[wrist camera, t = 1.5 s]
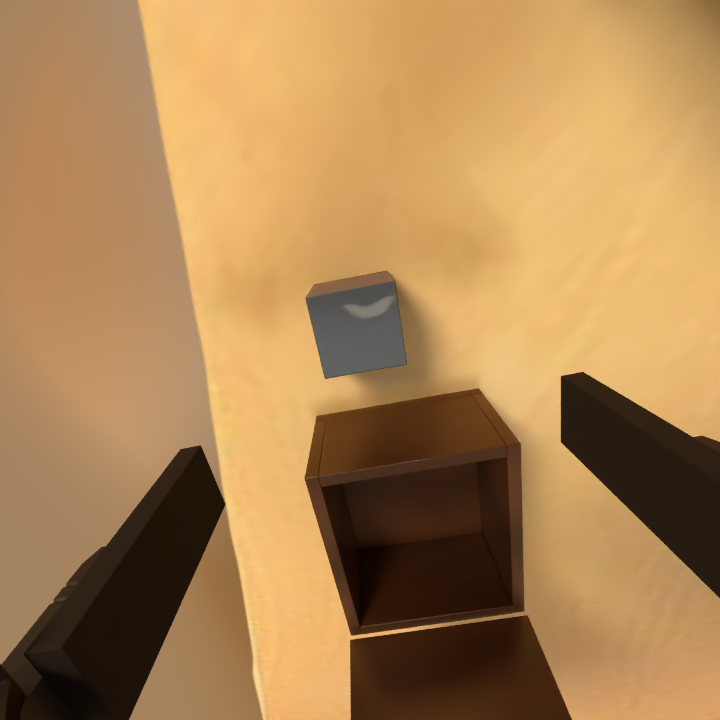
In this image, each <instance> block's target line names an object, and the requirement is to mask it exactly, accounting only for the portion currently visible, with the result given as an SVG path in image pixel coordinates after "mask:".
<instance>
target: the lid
mask: <svg viewBox="0 0 720 720" xmlns="http://www.w3.org/2000/svg"><path fill="white" fill-rule="evenodd" d="M350 669H351V720H572V719H571V716H570V714H569V712H568V709H567V707H566V705H565V702H564V700H563V698H562V695H561V693H560V691H559V688H558V686H557V683H556V681H555V679H554V676H553V674H552V672H551V669H550V667H549V665H548V662H547V660H546V658H545V655H544V653H543V650H542V648H541V646H540V643H539V641H538V639H537V636H536V634H535V632H534V629H533V627H532V625H531V622H530V620H529V617H528V616H519V617H512V618H505V619H498V620H491V621H483V622H476V623H469V624H462V625H455V626H447V627H440V628H433V629H426V630H419V631H411V632H404V633H397V634H390V635H383V636H375V637H368V638H361V639H354V640H350Z"/></svg>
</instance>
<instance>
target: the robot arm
mask: <svg viewBox="0 0 720 720" xmlns="http://www.w3.org/2000/svg"><path fill="white" fill-rule="evenodd" d="M561 443H562V444H563V445H564V446H565V447H566V448H567V449H569V450H570V451H571V452H572V453H573V454H574V455H575V456H576V457H577V458H578V459H579V460H580V461H581V462H582V463H583V464H584V465H585V466H586V467H587V468H588V469H589V470H590V471H591V472H592V473H593V474H594V475H595V476H596V477H597V478H598V479H599V480H600V481H601V482H602V483H603V484H604V485H605V486H606V487H607V488H608V489H609V490H610V491H611V492H612V493H613V494H614V495H615V496H616V497H617V498H618V499H619V500H620V501H621V502H622V503H624V504H625V505H626V506H627V507H628V508H629V509H630V510H631V511H632V512H633V513H634V514H635V515H636V516H637V517H638V518H639V519H640V520H641V521H642V522H643V523H644V524H645V525H646V526H647V527H648V528H649V529H650V530H651V531H652V532H653V533H654V534H655V535H656V536H657V537H658V538H659V539H660V540H661V541H662V542H663V543H664V544H665V545H666V546H667V547H668V548H669V549H670V550H671V551H672V552H673V553H674V554H675V555H676V556H677V557H678V558H680V559H681V560H682V561H683V562H684V563H685V564H686V565H687V566H688V567H689V568H690V569H691V570H692V571H693V572H694V573H695V574H696V575H697V576H698V577H699V578H700V579H701V580H702V581H703V582H704V583H705V584H706V585H707V586H708V587H709V588H710V589H711V590H712V591H713V592H714V593H715V594H716V595H717V596H718V597H719V598H720V442H718V441H715V440H713V439H710V438H707V437H704V436H697V437H692V436H690V435H688V434H687V433H685V432H683V431H682V430H680V429H678V428H677V427H675V426H673V425H671V424H670V423H668V422H666V421H665V420H663V419H661V418H660V417H658V416H656V415H655V414H653V413H651V412H650V411H648V410H646V409H644V408H643V407H641V406H639V405H638V404H636V403H634V402H633V401H631V400H629V399H628V398H626V397H624V396H623V395H621V394H619V393H617V392H616V391H614V390H612V389H611V388H609V387H607V386H606V385H604V384H602V383H601V382H599V381H597V380H596V379H594V378H592V377H591V376H589V375H587V374H585V373H584V372H580V373H575V374H570V375H564V376H561ZM224 506H225V502H224V500H223V497H222V495H221V493H220V490H219V488H218V485H217V483H216V481H215V478H214V476H213V473H212V471H211V469H210V466H209V464H208V462H207V459H206V457H205V454H204V452H203V449H202V447H201V446H195V447H190V448H185V449H181V450H180V451H179V452H178V453H177V455H176V456H175V457H174V459H173V460H172V461H171V463H170V464H169V465H168V466H167V468H166V469H165V470H164V472H163V473H162V474H161V476H160V477H159V478H158V479H157V481H156V482H155V483H154V485H153V486H152V487H151V489H150V490H149V491H148V492H147V494H146V495H145V496H144V498H143V499H142V500H141V502H140V503H139V504H138V505H137V507H136V508H135V509H134V511H133V512H132V513H131V515H130V516H129V517H128V518H127V520H126V521H125V522H124V524H123V525H122V526H121V528H120V529H119V530H118V532H117V533H116V534H115V535H114V537H113V538H112V539H111V541H110V542H109V543H108V544H107V546H105V547H101V548H100V549H99V550H98V551H97V552H95V553H94V554H93V555H92V556H91V557H90V558H89V559H87V560H86V561H85V562H84V563H83V564H82V565H81V566H80V567H79V569H78V570H77V571H76V572H75V573H74V575H73V576H72V577H71V578H70V580H69V581H68V582H67V586H66V587H64V588H63V589H62V590H61V591H60V592H59V594H58V595H57V596H56V597H55V599H54V602H53V604H50V605H49V606H48V607H47V609H46V610H45V611H44V612H43V613H42V615H41V616H40V617H39V618H38V620H37V621H36V622H35V623H34V625H33V626H32V627H31V628H30V630H29V631H28V632H27V634H26V635H25V636H24V637H23V638H22V640H21V641H20V642H19V643H18V645H17V646H16V648H14V650H13V651H12V652H11V653H10V655H9V656H8V657H7V658H6V660H5V661H4V662H3V664H2V665H1V664H0V720H129V718H130V716H131V714H132V712H133V709H134V707H135V705H136V703H137V700H138V698H139V696H140V694H141V691H142V689H143V687H144V685H145V683H146V680H147V678H148V676H149V673H150V671H151V669H152V667H153V665H154V662H155V660H156V658H157V656H158V653H159V651H160V649H161V647H162V645H163V642H164V640H165V638H166V636H167V634H168V631H169V629H170V627H171V625H172V622H173V620H174V618H175V616H176V613H177V611H178V609H179V607H180V605H181V602H182V600H183V598H184V595H185V593H186V591H187V589H188V586H189V584H190V582H191V580H192V577H193V576H194V573H195V571H196V569H197V566H198V564H199V562H200V560H201V558H202V555H203V553H204V551H205V549H206V547H207V544H208V542H209V540H210V538H211V535H212V533H213V531H214V529H215V526H216V524H217V522H218V520H219V518H220V515H221V513H222V511H223V509H224Z"/></svg>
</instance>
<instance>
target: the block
mask: <svg viewBox="0 0 720 720" xmlns="http://www.w3.org/2000/svg"><path fill="white" fill-rule="evenodd" d="M306 302H307V307H308V311H309V315H310V319H311V323H312V327H313V332H314V336H315V340H316V344H317V348H318V352H319V356H320V361H321V365H322V369H323V373H324V377H325V379H327V378H333V377H338V376H344V375H350V374H355V373H361V372H367V371H372V370H378V369H384V368H389V367H395V366H401V365H406V364H407V360H406V353H405V346H404V339H403V333H402V326H401V319H400V312H399V305H398V298H397V291H396V285H395V281H394V279H393V278H392V277H391V275H390V274H389V273H388V271H383V272H378V273H373V274H368V275H362V276H357V277H352V278H347V279H341V280H336V281H331V282H325V283H320V284H315V285H314V286H313V287H312V289H311V290H310V292H309V293H308V295H307V296H306Z"/></svg>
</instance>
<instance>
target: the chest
mask: <svg viewBox="0 0 720 720" xmlns="http://www.w3.org/2000/svg"><path fill="white" fill-rule="evenodd" d="M305 481H306V485H307V488H308V491H309V495H310V498H311V502H312V505H313V508H314V512H315V515H316V518H317V522H318V525H319V528H320V532H321V535H322V539H323V542H324V545H325V549H326V552H327V555H328V559H329V562H330V566H331V569H332V572H333V576H334V579H335V582H336V586H337V589H338V592H339V596H340V599H341V603H342V606H343V609H344V613H345V616H346V619H347V623H348V626H349V630H350V633H351V635H360V634H368V633H375V632H382V631H389V630H396V629H404V628H411V627H418V626H425V625H432V624H439V623H446V622H454V621H461V620H468V619H475V618H482V617H489V616H497V615H504V614H511V613H517V612H524V573H523V528H522V483H521V443H520V442H519V441H518V439H517V438H516V437H515V435H514V434H513V433H512V432H511V430H510V429H509V428H508V426H507V425H506V424H505V422H504V421H503V420H502V419H501V417H500V416H499V415H498V413H497V412H496V411H495V409H494V408H493V407H492V405H491V404H490V403H489V402H488V400H487V399H486V398H485V396H484V395H483V394H482V392H481V391H480V390H479V389H473V390H467V391H461V392H455V393H449V394H444V395H438V396H432V397H426V398H420V399H414V400H409V401H403V402H397V403H391V404H385V405H379V406H373V407H368V408H362V409H356V410H350V411H344V412H338V413H333V414H327V415H321V416H317V417H316V423H315V428H314V433H313V438H312V443H311V449H310V454H309V459H308V464H307V470H306V475H305Z"/></svg>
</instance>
